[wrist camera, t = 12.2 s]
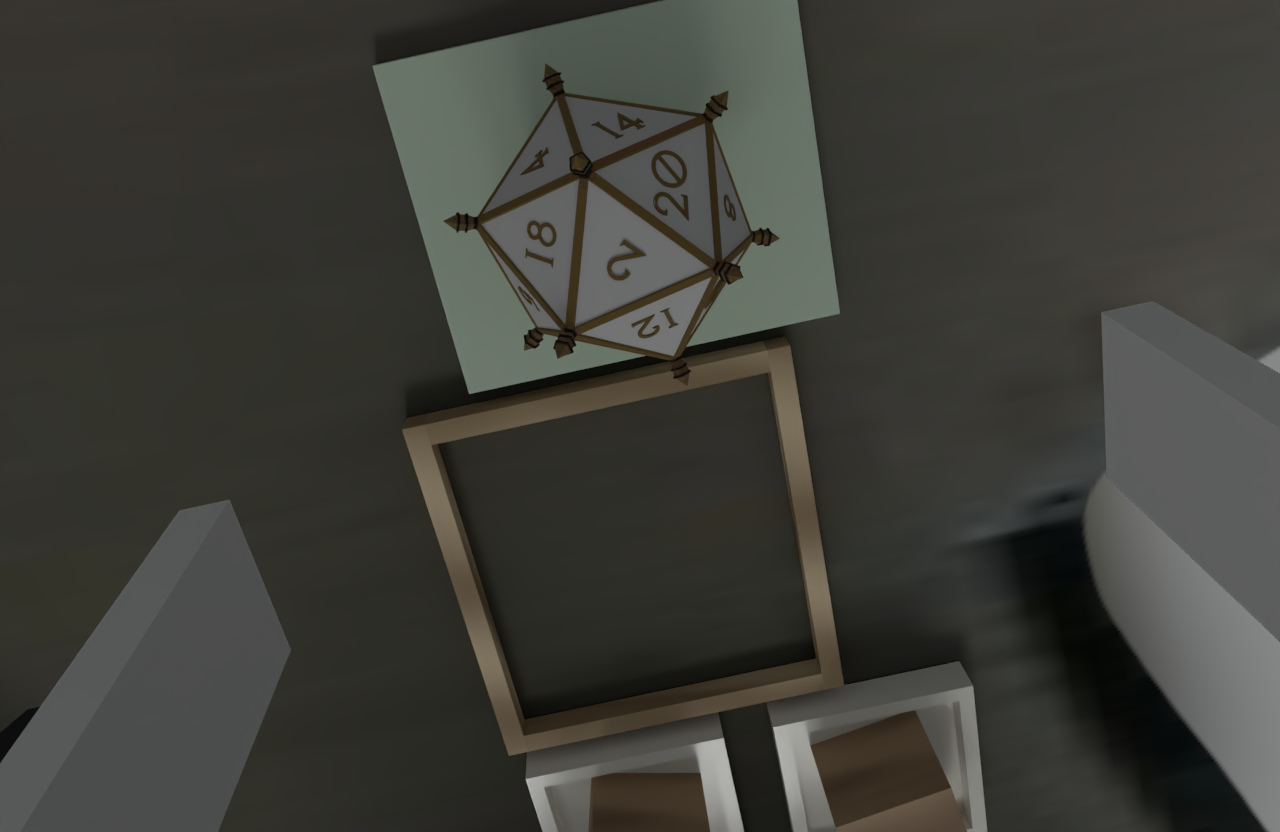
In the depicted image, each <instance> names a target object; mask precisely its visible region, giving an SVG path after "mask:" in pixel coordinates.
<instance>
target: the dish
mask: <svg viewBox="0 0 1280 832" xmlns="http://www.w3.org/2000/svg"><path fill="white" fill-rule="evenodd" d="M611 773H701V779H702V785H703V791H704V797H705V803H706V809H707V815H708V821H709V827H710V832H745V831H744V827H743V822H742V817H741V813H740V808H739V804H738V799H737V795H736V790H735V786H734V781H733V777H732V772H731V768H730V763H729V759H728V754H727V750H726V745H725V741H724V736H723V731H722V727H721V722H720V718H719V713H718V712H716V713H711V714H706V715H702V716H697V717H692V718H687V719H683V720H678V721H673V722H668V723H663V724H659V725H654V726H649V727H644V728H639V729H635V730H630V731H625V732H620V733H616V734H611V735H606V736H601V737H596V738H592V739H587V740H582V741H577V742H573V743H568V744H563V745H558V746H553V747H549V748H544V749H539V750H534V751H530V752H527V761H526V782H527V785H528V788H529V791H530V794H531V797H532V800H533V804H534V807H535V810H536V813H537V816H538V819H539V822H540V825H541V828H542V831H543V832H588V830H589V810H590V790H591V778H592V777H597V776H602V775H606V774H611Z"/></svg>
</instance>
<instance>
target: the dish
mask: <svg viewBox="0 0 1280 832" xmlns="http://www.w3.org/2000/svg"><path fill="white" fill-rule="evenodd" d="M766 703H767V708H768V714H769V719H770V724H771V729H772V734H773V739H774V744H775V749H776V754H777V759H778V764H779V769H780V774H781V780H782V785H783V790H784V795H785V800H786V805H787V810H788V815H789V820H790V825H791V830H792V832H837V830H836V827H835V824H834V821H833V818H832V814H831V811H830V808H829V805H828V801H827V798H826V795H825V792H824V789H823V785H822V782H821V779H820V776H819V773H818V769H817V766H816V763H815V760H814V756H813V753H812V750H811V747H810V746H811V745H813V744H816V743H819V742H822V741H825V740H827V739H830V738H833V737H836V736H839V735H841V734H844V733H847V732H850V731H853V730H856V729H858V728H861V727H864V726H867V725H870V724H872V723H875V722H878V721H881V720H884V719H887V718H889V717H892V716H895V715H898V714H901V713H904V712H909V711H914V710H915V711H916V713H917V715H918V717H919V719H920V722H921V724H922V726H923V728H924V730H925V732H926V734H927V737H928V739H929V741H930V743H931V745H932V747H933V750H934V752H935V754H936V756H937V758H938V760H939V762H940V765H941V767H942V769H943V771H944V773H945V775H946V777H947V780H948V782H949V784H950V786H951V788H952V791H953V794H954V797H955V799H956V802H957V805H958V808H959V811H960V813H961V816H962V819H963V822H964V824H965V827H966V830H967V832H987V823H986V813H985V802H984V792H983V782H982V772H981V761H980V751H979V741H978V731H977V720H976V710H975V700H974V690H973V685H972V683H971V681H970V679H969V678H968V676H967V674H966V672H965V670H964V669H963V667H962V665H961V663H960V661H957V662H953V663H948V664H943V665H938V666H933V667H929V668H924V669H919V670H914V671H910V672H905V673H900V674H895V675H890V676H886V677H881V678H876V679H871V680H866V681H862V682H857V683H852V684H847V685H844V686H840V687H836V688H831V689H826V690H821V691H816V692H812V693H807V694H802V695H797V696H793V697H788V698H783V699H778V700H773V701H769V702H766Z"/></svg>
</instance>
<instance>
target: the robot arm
mask: <svg viewBox="0 0 1280 832" xmlns="http://www.w3.org/2000/svg"><path fill="white" fill-rule="evenodd" d="M1101 317H1102V349H1103V380H1104V412H1105V443H1106V475H1107V478H1108V479H1109V480H1110V481H1111V482H1112V483H1113V484H1114V485H1115V486H1116V487H1117V488H1118V489H1119V490H1120V491H1122V492H1123V493H1124V494H1125V495H1126V496H1127V497H1128V498H1129V499H1130V500H1131V501H1132V502H1133V503H1134V504H1135V505H1136V506H1137V507H1138V508H1140V509H1141V510H1142V511H1143V512H1144V513H1145V514H1146V515H1147V516H1148V517H1149V518H1150V519H1151V520H1152V521H1153V522H1154V523H1155V524H1156V525H1157V526H1158V527H1159V528H1161V529H1162V530H1163V531H1164V532H1165V533H1166V534H1167V535H1168V536H1169V537H1170V538H1171V539H1172V540H1173V541H1174V542H1175V543H1176V544H1178V545H1179V547H1181V548H1182V549H1183V550H1184V551H1185V552H1186V553H1187V554H1188V555H1189V556H1190V557H1191V558H1192V559H1193V560H1194V561H1195V562H1196V563H1198V564H1199V565H1200V566H1201V567H1202V568H1203V569H1204V570H1205V571H1206V572H1207V573H1208V574H1209V575H1210V576H1211V577H1212V578H1213V579H1214V580H1215V581H1216V582H1217V583H1218V584H1220V585H1221V586H1222V587H1223V588H1224V589H1225V590H1226V591H1227V592H1228V593H1229V594H1230V595H1231V596H1232V597H1233V598H1234V599H1235V600H1236V601H1238V602H1239V603H1240V604H1241V605H1242V606H1243V607H1244V608H1245V609H1246V610H1247V611H1248V612H1249V613H1250V614H1251V615H1252V616H1253V617H1254V618H1255V619H1257V621H1259V622H1260V623H1261V624H1262V625H1263V626H1264V627H1265V628H1266V629H1267V630H1268V631H1269V632H1270V633H1271V634H1272V635H1273V636H1274V637H1275V638H1276V639H1278V640H1279V641H1280V373H1278V372H1276V371H1274V370H1273V369H1271V368H1269V367H1267V366H1265V365H1264V364H1262V363H1260V362H1259V361H1257V360H1255V359H1253V358H1252V357H1250V356H1248V355H1246V354H1245V353H1243V352H1241V351H1239V350H1238V349H1236V348H1234V347H1232V346H1231V345H1229V344H1227V343H1225V342H1224V341H1222V340H1220V339H1219V338H1217V337H1215V336H1213V335H1212V334H1210V333H1208V332H1206V331H1205V330H1203V329H1201V328H1199V327H1198V326H1196V325H1194V324H1192V323H1191V322H1189V321H1187V320H1185V319H1184V318H1182V317H1180V316H1178V315H1177V314H1175V313H1173V312H1171V311H1170V310H1168V309H1166V308H1164V307H1163V306H1161V305H1159V304H1157V303H1156V302H1154V301H1151V302H1147V303H1142V304H1137V305H1133V306H1128V307H1123V308H1119V309H1114V310H1109V311H1105V312H1101ZM290 651H291V649H290V647H289V644H288V642H287V639H286V637H285V634H284V632H283V630H282V627H281V625H280V622H279V620H278V617H277V615H276V612H275V610H274V608H273V605H272V603H271V600H270V598H269V595H268V593H267V590H266V588H265V586H264V583H263V581H262V578H261V576H260V573H259V571H258V568H257V566H256V564H255V561H254V559H253V556H252V554H251V551H250V549H249V546H248V544H247V542H246V539H245V537H244V534H243V532H242V529H241V527H240V524H239V522H238V520H237V517H236V515H235V512H234V510H233V507H232V505H231V502H230V500H226V501H221V502H216V503H212V504H207V505H202V506H198V507H193V508H188V509H184V510H179V512H178V513H177V515H176V516H175V517H174V519H173V520H172V522H171V523H170V524H169V526H168V527H167V529H166V530H165V532H164V533H163V534H162V536H161V537H160V539H159V540H158V541H157V543H156V544H155V546H154V547H153V548H152V550H151V551H150V553H149V554H148V555H147V557H146V558H145V560H144V561H143V563H142V564H141V565H140V567H139V568H138V570H137V571H136V572H135V574H134V575H133V577H132V578H131V579H130V581H129V582H128V584H127V585H126V587H125V588H124V589H123V591H122V592H121V594H120V595H119V596H118V598H117V599H116V601H115V602H114V603H113V605H112V606H111V608H110V609H109V611H108V612H107V613H106V615H105V616H104V618H103V619H102V620H101V622H100V623H99V625H98V626H97V627H96V629H95V630H94V632H93V633H92V634H91V636H90V637H89V639H88V640H87V642H86V643H85V644H84V646H83V647H82V649H81V650H80V651H79V653H78V654H77V656H76V657H75V658H74V660H73V661H72V663H71V664H70V666H69V667H68V668H67V670H66V671H65V673H64V674H63V675H62V677H61V678H60V680H59V681H58V682H57V684H56V685H55V687H54V688H53V690H52V691H51V692H50V694H49V695H48V697H47V698H46V699H45V701H44V702H43V704H42V705H41V706H40V707H37V708H32V709H28V710H26V711H25V712H24V713H23V714H22V715H21V716H19V717H18V718H17V719H16V720H15V721H14V722H12V723H11V724H10V725H9V726H8V727H7V728H5V729H4V730H3V731H2V732H1V733H0V832H218V830H219V827H220V825H221V822H222V820H223V817H224V815H225V812H226V810H227V807H228V805H229V803H230V800H231V798H232V795H233V793H234V790H235V788H236V785H237V783H238V780H239V778H240V775H241V773H242V770H243V768H244V765H245V763H246V760H247V758H248V755H249V753H250V750H251V748H252V745H253V743H254V740H255V738H256V735H257V733H258V730H259V728H260V725H261V723H262V720H263V718H264V715H265V713H266V710H267V708H268V705H269V703H270V701H271V698H272V696H273V693H274V691H275V688H276V686H277V683H278V681H279V678H280V676H281V673H282V671H283V668H284V666H285V663H286V661H287V658H288V656H289V653H290Z"/></svg>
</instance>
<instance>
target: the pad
mask: <svg viewBox="0 0 1280 832" xmlns="http://www.w3.org/2000/svg"><path fill="white" fill-rule="evenodd" d="M545 63H546V64H547V65H549V66H550V67H551V68H553V69H554V70H556V71H557V72H558V73H559V72H561V75H560V77H561V79H562V81H563V80H564V83H563V88H564V91H565V93H570V94H576V95H583V96H590V97H596V98H603V99H609V100H616V101H623V102H629V103H636V104H642V105H649V106H655V107H662V108H669V109H675V110H682V111H688V112H695V113H702V114H703V113H704V111H705V109H706V103H709V102H710V100H711V98H710V97H711V96H713V95H715V96H717V95H719V94H721V93H723V92H726V91H728V90H729V92H728V100H727V108H728V110H724V111H723V113H722V116H721V117H717V118H716V119H714V120H713V126H714V129H715V132H716V134H717V137H718V140H719V143H720V145H721V148H722V151H723V154H724V156H725V159H726V162H727V165H728V167H729V170H730V173H731V176H732V178H733V181H734V184H735V187H736V189H737V192H738V195H739V198H740V200H741V203H742V206H743V208H744V211H745V214H746V217H747V219H748V222H749V225H750V228H751V230H752V231H756V230H759V228H762V229H766V228H769V229H770V231H771V232H772V233H774V234H775V235H776V236H777V237H779V238H780V239H778V240H776V241H775V242H773V243H771V244H770V246H764V245H759V246H758V245H757V244H756V243H753V242H752V243H751V244H750V246H749V248H748V249H747V251H746V252H745V254H744V256H743V257H742V259H741V260H740V262H739V264H738V266H741V267H740V271H741V273H742V275H743V277H744V278H742V279H739V280H737V281H735V282H733V283H731V284H730V285H728V284H727V283H726V284H725V286H724V287H723V289H722V291H721V292H720V294H719V295H718V297H717V299H716V300H715V302H714V303H713V305H712V306H711V308H710V310H709V311H708V313H707V314H706V316H705V318H704V319H703V321H702V322H701V324H700V326H699V327H698V329H697V330H696V332H695V334H694V335H693V337H692V338H691V340H690V341H689V343H688V345H687V346H686V347H688V346H693V345H698V344H702V343H707V342H711V341H716V340H721V339H725V338H730V337H734V336H739V335H744V334H748V333H753V332H757V331H762V330H767V329H771V328H776V327H780V326H785V325H790V324H794V323H799V322H803V321H808V320H813V319H817V318H822V317H827V316H831V315H836V314H840V310H839V303H838V295H837V288H836V281H835V273H834V266H833V259H832V251H831V244H830V237H829V229H828V222H827V215H826V207H825V200H824V193H823V185H822V178H821V171H820V163H819V156H818V149H817V141H816V134H815V127H814V119H813V112H812V105H811V98H810V90H809V83H808V76H807V68H806V61H805V54H804V46H803V39H802V32H801V24H800V17H799V10H798V2H797V0H659V1H655V2H650V3H646V4H642V5H637V6H633V7H628V8H624V9H619V10H615V11H610V12H606V13H602V14H597V15H593V16H588V17H584V18H579V19H575V20H570V21H566V22H562V23H557V24H553V25H548V26H544V27H539V28H535V29H530V30H526V31H522V32H517V33H513V34H508V35H504V36H499V37H495V38H490V39H486V40H482V41H477V42H473V43H468V44H464V45H459V46H455V47H450V48H446V49H442V50H437V51H433V52H428V53H424V54H419V55H415V56H410V57H406V58H402V59H397V60H393V61H388V62H384V63H379V64H375V65H373V66H372V67H373V70H374V74H375V77H376V80H377V84H378V87H379V91H380V94H381V97H382V101H383V104H384V108H385V111H386V114H387V118H388V121H389V124H390V128H391V131H392V135H393V138H394V141H395V145H396V148H397V152H398V155H399V158H400V162H401V165H402V169H403V172H404V175H405V179H406V182H407V185H408V189H409V192H410V196H411V199H412V202H413V206H414V209H415V213H416V216H417V219H418V223H419V226H420V229H421V233H422V236H423V240H424V243H425V246H426V250H427V253H428V257H429V260H430V263H431V267H432V270H433V273H434V277H435V280H436V284H437V287H438V290H439V294H440V297H441V301H442V304H443V307H444V311H445V314H446V317H447V321H448V324H449V328H450V331H451V334H452V338H453V341H454V345H455V348H456V351H457V355H458V358H459V362H460V365H461V368H462V372H463V375H464V378H465V382H466V385H467V389H468V392H469V394H472V393H477V392H481V391H486V390H491V389H495V388H500V387H504V386H509V385H514V384H518V383H523V382H527V381H532V380H537V379H541V378H546V377H550V376H555V375H560V374H564V373H569V372H573V371H578V370H583V369H587V368H592V367H596V366H601V365H606V364H610V363H615V362H619V361H624V360H629V359H633V358H638V357H642V356H646V355H641V354H636V353H631V352H627V351H622V350H617V349H612V348H608V347H603V346H598V345H594V344H589V343H584V342H579V341H575V343H576V346H575V347H573V351H574V352H573V353H571V354H568V355H565V356H563V357H561V358H559V359H557V355H556V351H555V350H554V349H553V347H554V344H555V341H556V340H557V339H558V337H556V336H551V335H546V334H544V335H543V341H541V342H540V343H539V344H540V345H539V346H538V347H537V348H535V349H534V348H532V349H528V350H525V351H524V343H525V341H524V335H527V334H528V330H532V329H534V328H535V326H534V324H533V322H532V321H531V319H530V317H529V316H528V314H527V312H526V311H525V309H524V307H523V306H522V304H521V302H520V301H519V299H518V297H517V296H516V294H515V292H514V291H513V289H512V287H511V286H510V284H509V282H508V281H507V279H506V277H505V276H504V274H503V272H502V271H501V269H500V267H499V266H498V264H497V262H496V261H495V259H494V257H493V256H492V254H491V252H490V251H489V249H488V247H487V246H486V244H485V242H484V241H483V239H482V237H481V236H480V234H479V232H478V231H477V230H475V229H472V230H468V231H467V233H465V231H459V233H456V230H455V229H453V228H452V227H450V226H449V225H448V224H446V223H445V222H443V221H444V220H446V219H448V218H450V217H452V216H454V215H456V213H457V212H459V214H463V215H465V214H466V213H468V215H469V216H472V217H477V216H478V215H479V213H480V212H481V210H482V208H483V207H484V205H485V204H486V202H487V201H488V199H489V198H490V196H491V195H492V193H493V191H494V190H495V188H496V187H497V185H498V184H499V182H500V181H501V179H502V177H503V176H504V174H505V173H506V171H507V170H508V168H509V167H510V165H511V164H512V162H513V160H514V159H515V157H516V156H517V154H518V153H519V151H520V150H521V148H522V146H523V145H524V143H525V142H526V140H527V139H528V137H529V136H530V134H531V133H532V131H533V129H534V128H535V126H536V125H537V123H538V122H539V120H540V119H541V117H542V116H543V114H544V112H545V111H546V109H547V108H548V106H549V105H550V103H551V102H552V100H553V94H552V93H551V92H550V91H549V90H547V89H546V88H547V86H546V84H545V82H542V81H543V79H544V73H545Z"/></svg>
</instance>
